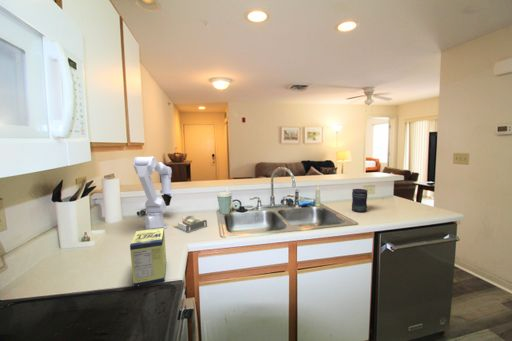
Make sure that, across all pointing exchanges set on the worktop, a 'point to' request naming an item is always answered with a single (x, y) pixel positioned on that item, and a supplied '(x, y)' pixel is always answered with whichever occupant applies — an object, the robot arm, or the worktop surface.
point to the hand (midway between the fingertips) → (167, 205)
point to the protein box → (148, 256)
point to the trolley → (190, 220)
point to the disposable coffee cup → (224, 201)
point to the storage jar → (359, 200)
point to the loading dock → (191, 226)
